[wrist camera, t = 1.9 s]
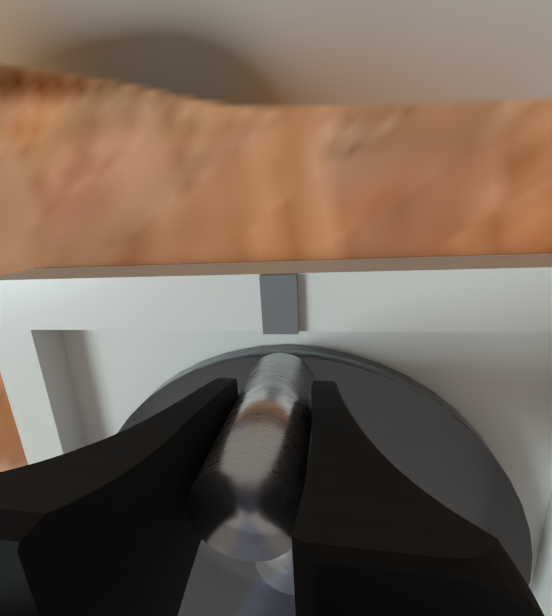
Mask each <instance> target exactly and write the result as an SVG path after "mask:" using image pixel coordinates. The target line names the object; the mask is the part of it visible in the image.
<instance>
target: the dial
mask: <svg viewBox="0 0 552 616" xmlns="http://www.w3.org/2000/svg"><path fill="white" fill-rule="evenodd" d="M217 378H237V387H238V398H237V400H236V402H235V404H234V406H233V408H232V410H231V411H230V413H229V415H228V417H227V419H226V421H225V423H224V425H223V427H222V429H221V431H220V433H219V435H218V437H217V439H216V441H215V443H214V445H213V447H212V449H211V451H210V453H209V454H208V456H207V458H206V460H205V462H204V464H203V466H202V468H201V470H200V472H199V474H198V476H197V478H196V480H195V482H194V484H193V486H192V488H191V490H190V492H189V494H188V499H187V513H188V517H189V520H190V522H191V524H192V526H193V528H194V530H195V531H196V533H197V534H198V535H199V536H200V537H201V539H202V540H201V542H200V545H199V548H198V551H197V554H196V558H195V561H194V564H193V567H192V570H191V573H190V576H189V580H188V583H187V586H186V589H185V593H184V596H183V599H182V603H181V606H180V609H179V613H178V616H296V613H295V594H294V575H293V556H292V538H291V535H292V532H293V529H294V525H295V521H296V517H297V513H298V509H299V505H300V501H301V497H302V493H303V488H304V483H305V478H306V473H307V467H308V461H309V456H310V449H311V442H312V403H311V388H312V384H313V381H334V382H335V383H336V384H337V387H338V390H339V392H340V395H341V397H342V399H343V401H344V403H345V404H346V406H347V408H348V409H349V411H350V413H351V414H352V416H353V417H354V419H355V420H356V422H357V423H358V425H359V426H360V427H361V429H362V430H363V431H364V433H365V434H366V435H367V437H368V438H369V439H370V440H371V442H372V443H373V444H374V445H375V446H376V447H377V449H378V450H379V451H380V452H381V453H382V454H383V455H384V456H385V457H386V458H387V459H388V460H389V461H390V462H391V463H392V464H393V465H394V466H395V467H396V468H397V469H398V470H400V471H401V472H402V473H403V474H404V475H405V476H407V477H408V478H409V479H410V480H411V481H412V482H414V483H415V484H416V485H417V486H419V487H420V488H421V489H422V490H424V491H425V492H426V493H428V494H429V495H431V496H432V497H433V498H435V499H436V500H437V501H439V502H440V503H442V504H443V505H444V506H446V507H447V508H449V509H450V510H452V511H453V512H455V513H457V514H458V515H460V516H461V517H463V518H465V519H466V520H468V521H470V522H471V523H473V524H474V525H476V526H478V527H479V528H481V529H483V530H484V531H486V532H487V533H489V534H491V535H492V536H494V537H496V538H497V539H498V540H499V541H500V542H501V544H502V546H503V547H504V549H505V550H506V552H507V553H508V555H509V556H510V558H511V559H512V561H513V562H514V564H515V565H516V567H517V568H518V570H519V572H520V573H521V575H522V576H523V578H524V580H525V581H526V583H527V584H528V586H529V583H530V580H531V568H532V557H533V555H532V546H531V536H530V529H529V526H528V522H527V519H526V516H525V512H524V509H523V505H522V503H521V501H520V499H519V497H518V495H517V493H516V491H515V489H514V487H513V485H512V483H511V481H510V479H509V477H508V476H507V474H506V473H505V471H504V470H503V468H502V466H501V465H500V463H499V462H498V460H497V459H496V457H495V456H494V454H493V453H492V451H491V450H490V449H489V447H488V446H487V444H486V443H485V441H484V440H483V439H482V437H481V436H480V434H479V433H478V432H477V431H476V430H475V429H474V428H473V427H472V425H471V424H470V423H469V422H468V421H467V420H466V419H465V418H464V417H463V416H462V415H461V414H460V413H459V412H458V411H457V410H456V409H455V408H453V407H452V406H451V405H450V404H448V403H447V402H446V401H445V400H443V399H442V398H441V397H440V396H438V395H437V394H436V393H435V392H433V391H432V390H430V389H428V388H427V387H425V386H423V385H422V384H420V383H418V382H417V381H415V380H413V379H412V378H410V377H409V376H407V375H405V374H402V373H400V372H398V371H396V370H394V369H391V368H389V367H387V366H385V365H382V364H380V363H378V362H375V361H372V360H369V359H365V358H362V357H359V356H356V355H353V354H349V353H346V352H340V351H335V350H330V349H324V348H319V347H308V346H293V345H277V346H260V347H252V348H247V349H241V350H236V351H231V352H227V353H224V354H221V355H218V356H215V357H212V358H209V359H206V360H203V361H201V362H199V363H197V364H195V365H193V366H191V367H189V368H187V369H185V370H183V371H181V372H179V373H178V374H176V375H175V376H173V377H172V378H170V379H169V380H168V381H166V382H165V383H163V384H162V385H161V386H160V387H159V388H158V389H156V390H155V391H154V392H153V393H152V394H151V395H150V396H149V397H148V398H147V399H146V400H145V401H144V402H143V403H142V404H141V405H140V406H139V407H138V408H137V409H136V410H135V411H134V412H133V413H132V414H131V415H130V416H129V418H128V419H127V420H126V422H125V423H124V425H123V426H122V427H121V429H120V430H119V431H118V433H119V432H121V431H124V430H126V429H128V428H130V427H132V426H134V425H136V424H138V423H140V422H142V421H144V420H146V419H148V418H150V417H152V416H153V415H155V414H157V413H159V412H161V411H162V410H164V409H166V408H168V407H170V406H171V405H173V404H175V403H176V402H178V401H180V400H181V399H183V398H185V397H186V396H188V395H190V394H191V393H193V392H194V391H196V390H198V389H199V388H201V387H203V386H204V385H206V384H208V383H209V382H211V381H213V380H215V379H217Z"/></svg>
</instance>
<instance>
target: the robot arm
mask: <svg viewBox="0 0 552 616" xmlns="http://www.w3.org/2000/svg"><path fill="white" fill-rule="evenodd" d="M237 398H238V387H237V378H217V379H215V380H213V381H211V382H209V383H208V384H206V385H204V386H203V387H201V388H199V389H198V390H196V391H194V392H193V393H191V394H190V395H188V396H186V397H185V398H183V399H181V400H180V401H178V402H176V403H175V404H173V405H171V406H170V407H168V408H166V409H164V410H162V411H161V412H159V413H157V414H155V415H153V416H152V417H150V418H148V419H146V420H144V421H142V422H140V423H138V424H136V425H134V426H132V427H130V428H128V429H126V430H124V431H121V432H119V433H117V434H115V435H113V436H110V437H108V438H105V439H103V440H100V441H98V442H95V443H92V444H90V445H87V446H84V447H82V448H79V449H76V450H74V451H71V452H68V453H65V454H62V455H59V456H56V457H53V458H50V459H47V460H44V461H40V462H37V463H33V464H30V465H26V466H23V467H19V468H15V469H12V470H8V471H4V472H0V616H178V613H179V609H180V606H181V603H182V599H183V596H184V593H185V589H186V586H187V583H188V580H189V576H190V573H191V570H192V567H193V564H194V561H195V558H196V554H197V551H198V548H199V545H200V542H201V540H202V539H201V537H200V536H199V535H198V534H197V533H196V531H195V530H194V528H193V526H192V524H191V522H190V520H189V517H188V513H187V499H188V494H189V492H190V490H191V488H192V486H193V484H194V482H195V480H196V478H197V476H198V474H199V472H200V470H201V468H202V466H203V464H204V462H205V460H206V458H207V456H208V454H209V453H210V451H211V449H212V447H213V445H214V443H215V441H216V439H217V437H218V435H219V433H220V431H221V429H222V427H223V425H224V423H225V421H226V419H227V417H228V415H229V413H230V411H231V410H232V408H233V406H234V404H235V402H236V400H237ZM311 403H312V442H311V449H310V456H309V461H308V467H307V473H306V478H305V483H304V488H303V493H302V497H301V501H300V505H299V509H298V513H297V517H296V521H295V525H294V529H293V532H292V535H291V538H292V556H293V575H294V594H295V613H296V616H544V614H543V612H542V610H541V608H540V606H539V604H538V602H537V600H536V598H535V596H534V594H533V593H532V591H531V589H530V588H529V586H528V584H527V583H526V581H525V580H524V578H523V576H522V575H521V573H520V572H519V570H518V568H517V567H516V565H515V564H514V562H513V561H512V559H511V558H510V556H509V555H508V553H507V552H506V550H505V549H504V547H503V546H502V544H501V542H500V541H499V540H498V539H497V538H496V537H494V536H492V535H491V534H489V533H487V532H486V531H484V530H483V529H481V528H479V527H478V526H476V525H474V524H473V523H471V522H470V521H468V520H466V519H465V518H463V517H461V516H460V515H458V514H457V513H455V512H453V511H452V510H450V509H449V508H447V507H446V506H444V505H443V504H442V503H440V502H439V501H437V500H436V499H435V498H433V497H432V496H431V495H429V494H428V493H426V492H425V491H424V490H422V489H421V488H420V487H419V486H417V485H416V484H415V483H414V482H412V481H411V480H410V479H409V478H408V477H407V476H405V475H404V474H403V473H402V472H401V471H400V470H398V469H397V468H396V467H395V466H394V465H393V464H392V463H391V462H390V461H389V460H388V459H387V458H386V457H385V456H384V455H383V454H382V453H381V452H380V451H379V450H378V449H377V447H376V446H375V445H374V444H373V443H372V442H371V440H370V439H369V438H368V437H367V435H366V434H365V433H364V431H363V430H362V429H361V427H360V426H359V425H358V423H357V422H356V420H355V419H354V417H353V416H352V414H351V413H350V411H349V409H348V408H347V406H346V404H345V403H344V401H343V399H342V397H341V395H340V392H339V390H338V387H337V384H336V383H335V382H334V381H313V384H312V388H311Z"/></svg>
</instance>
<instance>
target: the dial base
mask: <svg viewBox="0 0 552 616" xmlns="http://www.w3.org/2000/svg"><path fill="white" fill-rule="evenodd" d="M277 345H293V346H308V347H319V348H324V349H330V350H335V351H340V352H346V353H349V354H353V355H356V356H359V357H362V358H365V359H369V360H372V361H375V362H378V363H380V364H382V365H385V366H387V367H389V368H391V369H394V370H396V371H398V372H400V373H402V374H405V375H407V376H409V377H410V378H412V379H413V380H415V381H417V382H418V383H420V384H422V385H423V386H425V387H427V388H428V389H430V390H432V391H433V392H435V393H436V394H437V395H438V396H440V397H441V398H442V399H443V400H445V401H446V402H447V403H448V404H450V405H451V406H452V407H453V408H455V409H456V410H457V411H458V412H459V413H460V414H461V415H462V416H463V417H464V418H465V419H466V420H467V421H468V422H469V423H470V424H471V425H472V427H473V428H474V429H475V430H476V431H477V432H478V433H479V434H480V436H481V437H482V439H483V440H484V441H485V443H486V444H487V446H488V447H489V449H490V450H491V451H492V453H493V454H494V456H495V457H496V459H497V460H498V462H499V463H500V465H501V466H502V468H503V470H504V471H505V473H506V474H507V476H508V477H509V479H510V481H511V483H512V485H513V487H514V489H515V491H516V493H517V495H518V497H519V499H520V501H521V503H522V505H523V509H524V512H525V516H526V519H527V522H528V526H529V529H530V536H531V546H532V555H533V557H532V568H531V580H530V583H529V588H530V589H531V591H532V593H533V594H534V596H535V598H536V600H537V602H538V604H539V606H540V608H541V610H542V612H543V614H544V616H552V253H539V254H506V255H472V256H439V257H405V258H372V259H338V260H305V261H271V262H238V263H204V264H171V265H137V266H103V267H70V268H36V269H29V270H24V271H19V272H14V273H9V274H4V275H0V372H1V375H2V379H3V382H4V385H5V389H6V392H7V395H8V399H9V402H10V405H11V409H12V412H13V415H14V419H15V422H16V425H17V429H18V432H19V435H20V439H21V442H22V445H23V449H24V452H25V455H26V459H27V462H28V465H30V464H33V463H37V462H40V461H44V460H47V459H50V458H53V457H56V456H59V455H62V454H65V453H68V452H71V451H74V450H76V449H79V448H82V447H84V446H87V445H90V444H92V443H95V442H98V441H100V440H103V439H105V438H108V437H110V436H113V435H115V434H117V433H118V431H119V430H120V429H121V427H122V426H123V425H124V423H125V422H126V420H127V419H128V418H129V416H130V415H131V414H132V413H133V412H134V411H135V410H136V409H137V408H138V407H139V406H140V405H141V404H142V403H143V402H144V401H145V400H146V399H147V398H148V397H149V396H150V395H151V394H152V393H153V392H154V391H155V390H156V389H158V388H159V387H160V386H161V385H162V384H163V383H165V382H166V381H168V380H169V379H170V378H172V377H173V376H175V375H176V374H178V373H179V372H181V371H183V370H185V369H187V368H189V367H191V366H193V365H195V364H197V363H199V362H201V361H203V360H206V359H209V358H212V357H215V356H218V355H221V354H224V353H227V352H231V351H236V350H241V349H247V348H252V347H260V346H277Z"/></svg>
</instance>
